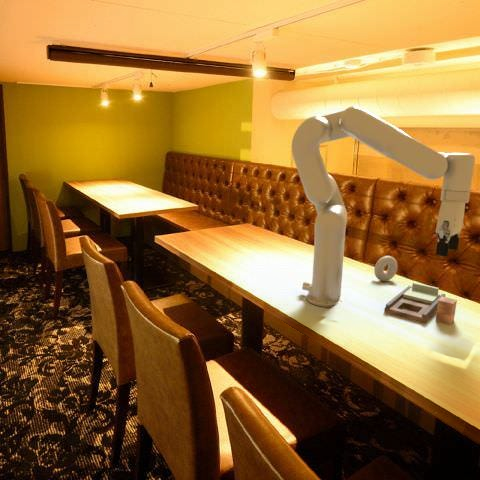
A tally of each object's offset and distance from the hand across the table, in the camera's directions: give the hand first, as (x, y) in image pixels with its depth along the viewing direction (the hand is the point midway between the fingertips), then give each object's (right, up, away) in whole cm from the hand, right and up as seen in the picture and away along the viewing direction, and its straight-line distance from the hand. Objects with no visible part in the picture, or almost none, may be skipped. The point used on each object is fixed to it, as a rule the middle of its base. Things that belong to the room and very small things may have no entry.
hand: (446, 252), depth 132 cm
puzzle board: (-7, -19, +7) cm, 21 cm away
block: (-2, -22, -3) cm, 22 cm away
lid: (-3, -15, +10) cm, 18 cm away
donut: (-8, -12, +34) cm, 37 cm away
